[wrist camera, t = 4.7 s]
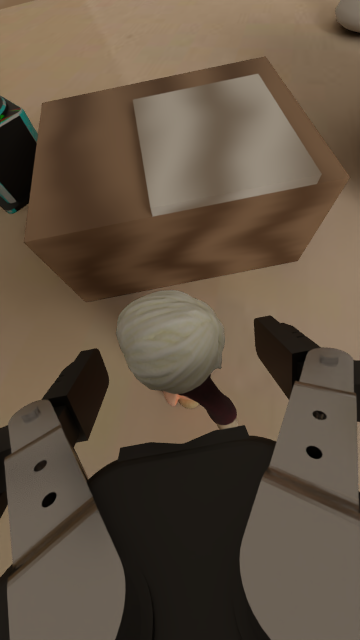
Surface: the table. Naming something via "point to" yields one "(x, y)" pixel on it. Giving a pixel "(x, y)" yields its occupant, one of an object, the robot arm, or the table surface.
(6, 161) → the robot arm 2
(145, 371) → the grandmother figurine
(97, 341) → the table surface
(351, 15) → the flower in vase
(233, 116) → the stand
